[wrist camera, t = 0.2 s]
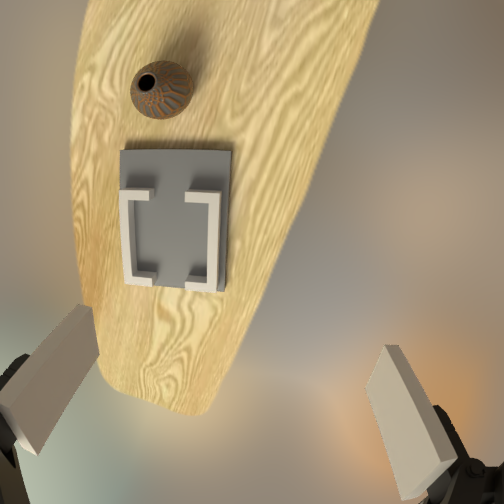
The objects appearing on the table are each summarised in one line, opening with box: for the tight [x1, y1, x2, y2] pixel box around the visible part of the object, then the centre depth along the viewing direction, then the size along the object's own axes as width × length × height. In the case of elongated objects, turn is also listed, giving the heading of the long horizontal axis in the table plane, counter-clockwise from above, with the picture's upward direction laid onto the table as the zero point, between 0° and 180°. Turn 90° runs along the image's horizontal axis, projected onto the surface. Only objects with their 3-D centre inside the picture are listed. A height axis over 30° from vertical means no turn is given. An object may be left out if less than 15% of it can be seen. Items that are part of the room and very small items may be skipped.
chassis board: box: [119, 149, 232, 293], centre depth 37 cm, size 18×14×3 cm
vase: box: [130, 61, 193, 119], centre depth 29 cm, size 7×7×9 cm
